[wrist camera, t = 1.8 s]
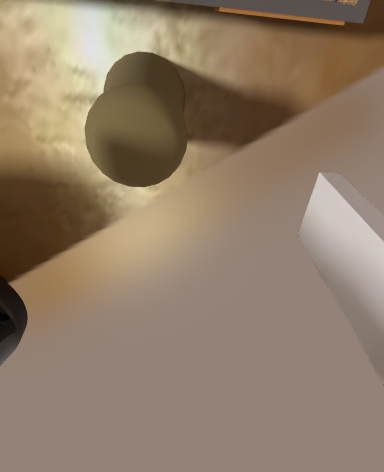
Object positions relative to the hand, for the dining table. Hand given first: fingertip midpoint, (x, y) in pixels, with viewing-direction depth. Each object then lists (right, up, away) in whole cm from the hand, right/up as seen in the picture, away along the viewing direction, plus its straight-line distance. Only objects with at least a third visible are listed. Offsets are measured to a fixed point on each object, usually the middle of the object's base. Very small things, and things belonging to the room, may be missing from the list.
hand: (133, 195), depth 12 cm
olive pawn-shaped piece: (-1, +9, +13) cm, 16 cm away
